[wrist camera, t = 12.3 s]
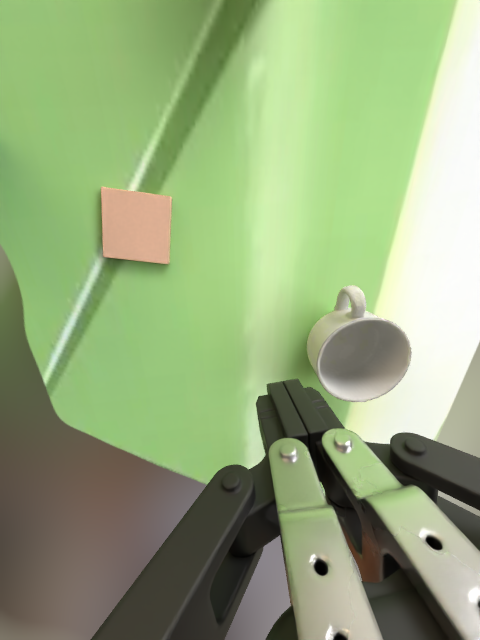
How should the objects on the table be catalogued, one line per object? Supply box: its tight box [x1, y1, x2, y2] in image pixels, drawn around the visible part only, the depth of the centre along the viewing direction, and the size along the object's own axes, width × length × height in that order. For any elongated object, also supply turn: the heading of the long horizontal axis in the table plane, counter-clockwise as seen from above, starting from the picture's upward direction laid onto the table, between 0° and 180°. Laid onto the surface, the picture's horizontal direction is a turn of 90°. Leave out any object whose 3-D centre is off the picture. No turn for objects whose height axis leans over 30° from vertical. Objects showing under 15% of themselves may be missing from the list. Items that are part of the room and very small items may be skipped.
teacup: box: [307, 285, 411, 402], centre depth 31 cm, size 14×11×8 cm
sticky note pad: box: [101, 187, 172, 264], centre depth 29 cm, size 8×8×1 cm
